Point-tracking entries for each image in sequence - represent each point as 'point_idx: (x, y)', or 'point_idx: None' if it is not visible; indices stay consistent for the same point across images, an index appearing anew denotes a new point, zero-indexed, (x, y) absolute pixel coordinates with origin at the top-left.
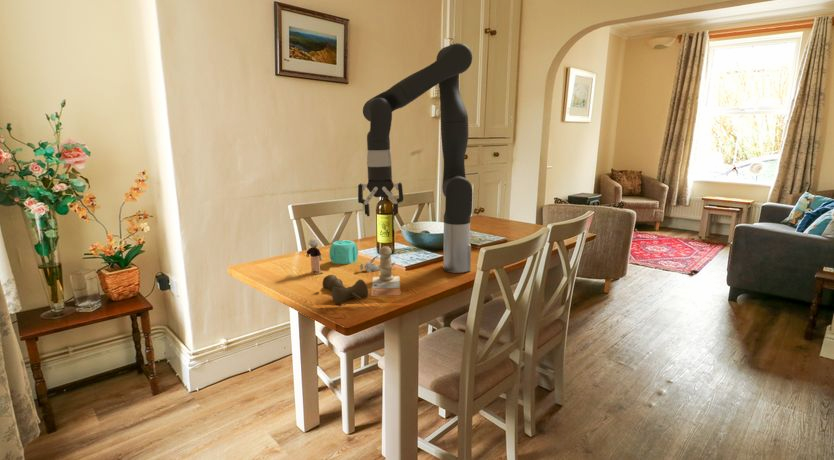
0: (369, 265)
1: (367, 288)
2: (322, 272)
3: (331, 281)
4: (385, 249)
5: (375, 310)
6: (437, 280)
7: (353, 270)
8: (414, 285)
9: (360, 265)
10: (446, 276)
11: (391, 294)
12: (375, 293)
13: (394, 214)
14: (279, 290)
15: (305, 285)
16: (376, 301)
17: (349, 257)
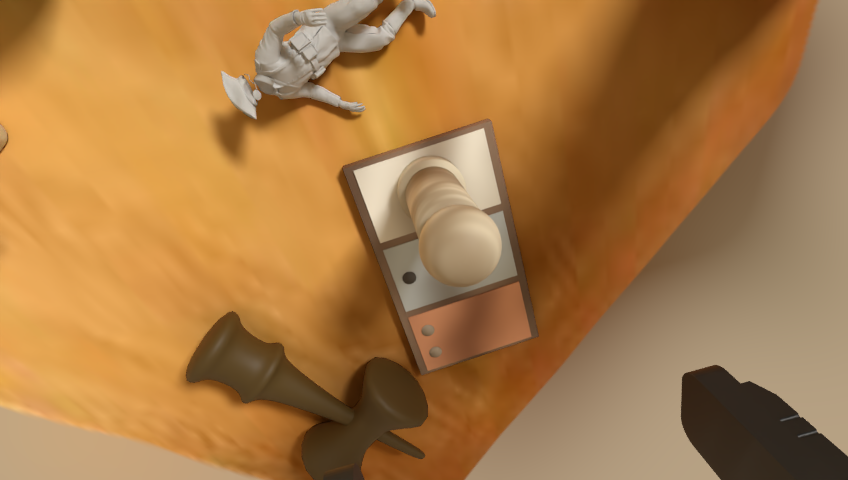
0: (287, 79)
1: (426, 410)
2: (2, 133)
3: (248, 402)
4: (474, 283)
5: (469, 431)
6: (662, 110)
7: (160, 31)
8: (563, 199)
9: (235, 105)
10: (709, 37)
11: (498, 343)
12: (438, 352)
13: (702, 441)
14: (7, 391)
15: (71, 316)
16: (452, 377)
17: None
